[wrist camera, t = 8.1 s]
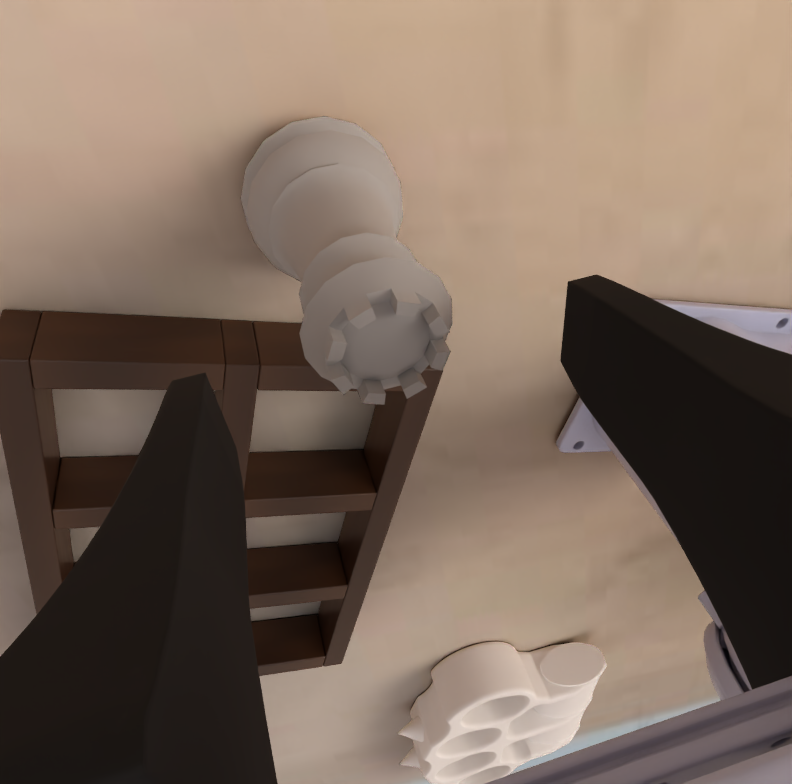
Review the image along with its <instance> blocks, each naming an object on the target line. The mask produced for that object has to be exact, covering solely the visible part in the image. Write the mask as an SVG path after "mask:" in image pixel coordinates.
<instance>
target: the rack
mask: <svg viewBox="0 0 792 784" xmlns="http://www.w3.org/2000/svg"><path fill="white" fill-rule="evenodd" d="M301 325H302V324H301V323H279V322H258V321H254V322H253V323H252V321H240V320H221V321H220V320H219V319H200V318H179V317H158V316H136V315H115V314H93V313H72V312H51V311H43V312H42V313H41V312H40V311H24V310H3V311H2V314H1V317H0V434H1V439H2V444H3V449H4V454H5V459H6V464H7V469H8V474H9V479H10V484H11V489H12V494H13V499H14V504H15V509H16V514H17V519H18V524H19V529H20V534H21V539H22V544H23V549H24V554H25V559H26V564H27V569H28V574H29V579H30V584H31V589H32V594H33V599H34V604H35V609H36V614H38V613H39V612H40V610H41V609H42V608H43V606H44V605H45V604H46V603H47V601H48V600H49V599H50V597H51V596H52V595H53V594H54V592H55V591H56V590H57V588H58V587H59V586H60V585H61V583H62V582H63V581H64V579H65V578H66V577H67V575H68V574H69V572H70V571H71V570H72V568H73V567H74V566H75V564H76V563H73V555H72V547H71V539H70V531H69V528H85V527H100V526H101V525H102V523H103V521H104V520H105V518H106V516H107V515H108V513H109V511H110V510H111V508H112V506H113V504H114V502H115V501H116V499H117V497H118V495H119V493H120V491H121V490H122V488H123V486H124V484H125V482H126V480H127V479H128V477H129V475H130V473H131V471H132V469H133V467H134V465H135V463H136V460H137V458H138V456H115V457H77V458H62V459H61V460H60V452H59V444H58V436H57V429H56V421H55V413H54V405H53V397H52V389H143V390H167V389H168V386H169V385H170V383H171V382H172V381H173V380H177V379H181V378H185V377H189V376H193V375H197V374H201V373H206V375H207V378H208V380H209V382H210V385H211V387H212V390H215V397H216V399H217V402H218V404H219V407H220V409H221V411H222V414H223V416H224V419H225V421H226V423H227V426H228V428H229V431H230V433H231V435H232V438H233V440H234V443H235V445H236V448H237V453H238V459H239V465H240V470H241V476H242V482H243V488H244V497H245V517H246V518H252V517H268V516H284V515H300V514H317V513H333V512H346V516H345V519H344V523H343V526H342V530H341V534H340V537H339V541H338V544H337V542H334V543H321V544H308V545H296V546H283V547H270V548H258V549H247V564H248V589H249V604H250V609H252V608H261V607H270V606H279V605H288V604H297V603H306V602H315V601H322V602H321V606H320V609H319V613H318V616H317V615H308V616H300V617H292V618H283V619H275V620H266V621H258V622H251V624H252V631H253V638H254V645H255V652H256V658H257V665H258V672H259V676H263V675H269V674H276V673H283V672H289V671H296V670H303V669H310V668H316V667H322V666H330V665H336V664H341V663H342V661H343V658H344V655H345V652H346V650H347V647H348V644H349V641H350V638H351V635H352V632H353V629H354V626H355V624H356V621H357V618H358V615H359V612H360V609H361V606H362V603H363V600H364V598H365V595H366V592H367V589H368V586H369V583H370V580H371V577H372V574H373V572H374V569H375V566H376V563H377V560H378V557H379V554H380V551H381V548H382V546H383V543H384V540H385V537H386V534H387V531H388V528H389V525H390V522H391V520H392V517H393V514H394V511H395V508H396V505H397V502H398V499H399V496H400V494H401V491H402V488H403V485H404V482H405V479H406V476H407V473H408V470H409V468H410V465H411V462H412V459H413V456H414V453H415V450H416V447H417V444H418V442H419V439H420V436H421V433H422V430H423V427H424V424H425V421H426V418H427V416H428V413H429V410H430V407H431V404H432V401H433V398H434V395H435V392H436V390H437V387H438V384H439V381H440V378H441V375H442V372H443V371H441V370H438V369H434V368H431V367H430V365H428V366H427V367H426V369H425V370H424V371H423V372H422V373H421V376H422V378H423V380H424V382H425V384H426V386H427V388H425V389H423V390H422V391H420V392H418V393H416V394H415V395H413V396H411V397H410V398H408V399H407V398H406V396H405V393H404V391H403V389H402V386H401V385H400V386H396V387H392V388H388V389H384V391H385V393H386V396H385V404H384V405H382V404H376V407H375V411H374V415H373V418H372V422H371V426H370V429H369V433H368V436H367V440H366V444H365V447H364V451H363V450H339V451H300V452H261V453H249V449H250V441H251V433H252V425H253V417H254V409H255V401H256V393H257V389H258V390H296V391H340V390H339V389H338V388H337V387H336V386H335V385H334V383H333V382H331V381H329V380H327V379H325V378H323V377H321V376H320V375H319V374H318V373H317V371H316V370H315V369H314V368H313V367H312V366H311V364H310V363H309V362H308V361H307V360H306V359H305V356H304V351H303V347H302V343H301V338H300V334H299V333H300V329H301ZM349 391H358V390H357V389H350V390H349Z"/></svg>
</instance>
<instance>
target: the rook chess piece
mask: <svg viewBox="0 0 792 784" xmlns="http://www.w3.org/2000/svg"><path fill="white" fill-rule="evenodd" d="M241 202H242V206H243V209H244V213H245V217H246V221H247V225H248V228H249V229H250V231H251V232H252V236H253V240H254V242H255V243H256V245H257V246H258V247H259V248H260V250H261V251H262V252H263V253H264V255H265V256H266V257H267V259H268V260H269V261H270V262H271V264H272V265H273V266H274V267H276V268H277V269H279V270H280V271H282V272H284V273H286V274H288V275H290V276H291V277H293V278H295V279H297V280H299V281H301V282H302V284H301V288H300V292H299V296H300V300H301V305H302V309H303V314H304V317H303V321H302V325H301V329H300V333H299V334H300V338H301V343H302V347H303V351H304V356H305V359H306V360H307V361H308V362H309V363H310V364H311V366H312V367H313V368H314V369H315V370H316V371H317V373H318V374H319V375H320V376H321V377H323V378H325V379H327V380H329V381H331V382H333V383H334V385H335V386H336V387H337V388H338V389H339V390H340V392H341V393H342V394H343V395H344V394H346V393H347V392H348V391H349V390H350V389H357V390H358V393H359V395H360V398H361V401H362V403H364V404H382V405H384V404H385V396H386V393H385V391H384V389H388V388H392V387H396V386H400V385H401V386H402V389H403V391H404V393H405V396H406V398H407V399H408V398H410V397H411V396H413V395H415V394H416V393H418V392H420V391H422V390H423V389H425V388H427V386H426V384H425V382H424V380H423V378H422V376H421V373H422V372H423V371H424V370H425V369H426V367H427V366H428V365H430V367H431V368H434V369H438V370H441V371H443V368H444V366H445V364H446V361H447V359H448V357H449V354H450V352H451V351H450V350H449V348H448V346H447V344H446V343H445V340H446V338H447V335H448V333H449V332H450V331H449V330H450V328H451V326H452V299H451V297H450V295H449V293H448V291H447V290H446V288H445V286H444V284H443V282H442V281H441V279H440V277H439V276H437V275H436V274H434V273H433V272H431V271H430V270H428V269H427V268H425V267H424V266H422V265H421V264H419V263H417V261H416V259H415V257H414V256H413V254H412V252H411V250H410V249H409V248H407V247H406V246H404V245H403V244H401V243H400V242H398V241H397V239H396V238H397V234H398V231H399V228H400V225H401V222H402V219H403V204H402V191H401V182H400V180H399V178H398V176H397V174H396V172H395V169H394V167H393V165H392V163H391V161H390V159H389V158H388V156H387V154H386V152H385V150H384V148H383V146H382V144H381V143H380V142H379V141H378V140H376V139H375V138H374V137H372V136H371V135H370V134H369V133H367V132H366V131H365V130H363V129H362V128H361V127H360V126H358V125H357V124H355V123H351V122H347V121H343V120H339V119H334V118H330V117H326V116H322V117H317V118H311V119H305V120H300V121H294V122H291V123H289V124H288V125H286V126H285V127H283V128H282V129H280V130H279V131H277V132H276V133H274V134H273V135H271V136H270V137H268V138H267V139H265V140H264V141H263V142H262V144H261V145H260V147H259V148H258V150H257V151H256V153H255V155H254V156H253V158H252V159H251V161H250V162H249V164H248V165H247V167H246V170H245V176H244V182H243V188H242V194H241Z"/></svg>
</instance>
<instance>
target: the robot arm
mask: <svg viewBox="0 0 792 784" xmlns="http://www.w3.org/2000/svg"><path fill="white" fill-rule="evenodd" d="M561 363H562V365H563V367H564V369H565V371H566V373H567V375H568V377H569V378H570V380H571V382H572V384H573V386H574V388H575V389H576V391H577V393H578V395H579V399H578V401H577V403H576V405H575V407H574V409H573V411H572V412H571V414H570V416H569V418H568V420H567V422H566V424H565V426H564V428H563V430H562V431H561V433H560V435H559V437H558V439H557V441H556V446H557V447H558V449H559V450H560V451H561V452H564V453H571V452H603V451H612V452H613V453H614V455H615V456H616V458H617V459H618V460H619V462H620V463H621V464H622V466H623V467H624V469H625V470H626V471H627V473H628V474H629V475H630V477H631V478H632V479H633V481H634V482H635V484H636V485H637V486H638V488H639V489H640V490H641V492H642V493H643V495H644V496H645V497H646V499H647V500H648V501H649V503H650V504H651V505H652V507H653V508H654V510H655V511H656V512H657V514H658V515H659V516H660V518H661V519H662V521H663V522H664V523H665V525H666V526H667V527H668V529H669V530H670V531H671V533H672V534H673V536H674V537H675V538H676V540H677V541H678V542H679V544H680V545H681V547H682V549H683V550H684V552H685V554H686V556H687V558H688V560H689V561H690V563H691V565H692V567H693V569H694V570H695V572H696V574H697V576H698V578H699V580H700V582H701V584H702V586H703V587H704V589H705V590H704V591H703V592H702V593H701V594H700V595H699V596H698V599H699V600H700V602H701V603H702V605H703V606H704V607H705V609H706V610H707V612H708V613H709V615H710V616H711V617H712V619H713V620H714V621H713V622H711V623H710V624H708V626H707V628H706V629H705V631H704V647H705V652H706V663H707V668H708V672H709V675H710V678H711V680H712V683H713V685H714V688H715V690H716V692H717V694H718V696H719V698H720V700H721V701H719V702H716V703H713V704H710V705H707V706H704V707H701V708H699V709H696V710H693V711H690V712H687V713H684V714H681V715H679V716H676V717H673V718H670V719H667V720H664V721H662V722H659V723H656V724H653V725H650V726H647V727H644V728H642V729H639V730H636V731H633V732H630V733H627V734H624V735H622V736H619V737H616V738H613V739H610V740H607V741H604V742H602V743H599V744H596V745H593V746H590V747H587V748H585V749H582V750H579V751H576V752H573V753H570V754H567V755H565V756H562V757H559V758H556V759H553V760H550V761H547V762H545V763H542V764H539V765H536V766H533V767H531V768H527V769H525V770H522V771H519V772H516V773H514V774H510V775H507V776H505V777H502V778H499V779H496V780H493V781H490V782H488V783H485V784H792V310H791V309H778V308H765V307H752V306H738V305H725V304H712V303H699V302H685V301H672V300H659V299H651V298H649V297H647V296H645V295H642V294H640V293H638V292H636V291H634V290H632V289H629V288H627V287H625V286H623V285H621V284H618V283H616V282H614V281H611V280H609V279H607V278H604V277H602V276H599V275H593V276H589V277H585V278H581V279H577V280H573V281H569V282H568V287H567V297H566V308H565V318H564V329H563V340H562V350H561ZM0 784H277V779H276V773H275V767H274V762H273V756H272V750H271V744H270V739H269V733H268V727H267V721H266V715H265V709H264V703H263V697H262V690H261V684H260V678H259V672H258V665H257V658H256V652H255V645H254V638H253V631H252V624H251V616H250V604H249V589H248V564H247V540H246V517H245V497H244V488H243V482H242V476H241V470H240V465H239V459H238V453H237V448H236V445H235V443H234V440H233V438H232V435H231V433H230V431H229V428H228V426H227V423H226V421H225V419H224V416H223V414H222V411H221V409H220V407H219V404H218V402H217V399H216V397H215V394H214V392H213V390H212V387H211V385H210V382H209V380H208V378H207V375H206V373H201V374H197V375H193V376H189V377H185V378H181V379H177V380H173V381H172V382H171V383H170V385H169V386H168V389H167V391H166V394H165V396H164V399H163V401H162V404H161V406H160V409H159V411H158V414H157V416H156V419H155V421H154V423H153V426H152V428H151V430H150V433H149V435H148V437H147V439H146V441H145V444H144V446H143V448H142V450H141V452H140V454H139V456H138V458H137V460H136V463H135V465H134V467H133V469H132V471H131V473H130V475H129V477H128V479H127V480H126V482H125V484H124V486H123V488H122V490H121V491H120V493H119V495H118V497H117V499H116V501H115V502H114V504H113V506H112V508H111V510H110V511H109V513H108V515H107V516H106V518H105V520H104V521H103V523H102V525H101V526H100V528H99V530H98V531H97V533H96V534H95V536H94V538H93V539H92V541H91V542H90V544H89V545H88V547H87V548H86V550H85V551H84V553H83V554H82V556H81V557H80V559H79V560H78V561H77V563H76V564H75V566H74V567H73V568H72V570H71V571H70V572H69V574H68V575H67V577H66V578H65V579H64V581H63V582H62V583H61V585H60V586H59V587H58V588H57V590H56V591H55V592H54V594H53V595H52V596H51V597H50V599H49V600H48V601H47V603H46V604H45V605H44V606H43V608H42V609H41V610H40V612H39V613H38V614H37V615H36V617H35V618H34V619H33V620H32V621H31V623H30V624H29V625H28V626H27V627H26V628H25V629H24V631H23V632H22V633H21V634H20V635H19V636H18V638H17V639H16V640H15V641H14V642H13V643H12V645H11V646H10V647H9V648H8V649H7V650H6V651H5V652H4V653H3V654H2V655H1V657H0Z"/></svg>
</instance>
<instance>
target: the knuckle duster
mask: <svg viewBox="0 0 792 784" xmlns="http://www.w3.org/2000/svg"><path fill="white" fill-rule="evenodd" d="M606 666H607V664H606V662H605V658H604V655H603V653H602V652H601V650H600V649H598V648H597V647H595V646H593V645H590V644H586V643H579V642H573V643H566V644H559V645H551V646H548V647H544V648H541V649H538V650H534V651H531V652H519V651H516V649H515V648H514V647H513V646H512V645H510V644H508V643H505V642H485V643H480V644H476V645H472V646H469V647H466V648H464V649H461V650H459V651H457V652H455V653H453V654H451V655H449V656H448V657H446V658H445V659H443V660H442V661H441V662H439V663H438V664H437V665H436V666H435V667H434V668H433V669H432V671H431V676H432V679H433V682H432V684H431V686H430V687H429V688H428V689H427V690H426V691H425V692H424V693H423V694H421V695H420V696H418V697H417V699H416V701H415V703H414V705H413V707H412V709H411V711H410V715H411V719H412V721H410V722H409V723H408V724H407V725H406V726H405V727H404V728H403V729H401V730H400V731H399V732H398V733H397V734H400V735H403V736H405V737H408V738H411V739H413V743H414V747H413V748H412V749H411V750H410V752H409V753H408V754H407V755H406V757H405V758H404V759H403V760H402V761H401V763H400V764H399V765H404V766H410V767H417V768H420V769H421V772H422V775H423V776H424V777H425V778H426V779H427V780H428V781H429V782H430V783H431V784H485V783H488V782H490V781H493V780H496V779H499V778H502V777H505V776H507V775H509V774H510V773H511V772H512V771H513V770H514V769H515V768H517V767H518V766H520V765H522V764H524V763H526V762H527V761H529V760H531V759H535V758H538V757H541V756H544V755H547V754H550V753H552V752H554V751H556V750H558V749H559V748H561V747H563V746H565V745H566V744H568V743H569V742H570V741H571V739H572V738H573V736H574V735H575V733H576V732H577V730H578V729H579V727H580V723H579V722H580V720H581V718H582V716H583V713H584V711H585V709H586V708H587V706H588V705H589V703H590V702H591V700H592V698H593V697H592V693H593V691H594V688H595V686H596V684H597V681H598V679H599V677H600V676H601V674H602V673H603V671H604V670H605V668H606Z"/></svg>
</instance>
